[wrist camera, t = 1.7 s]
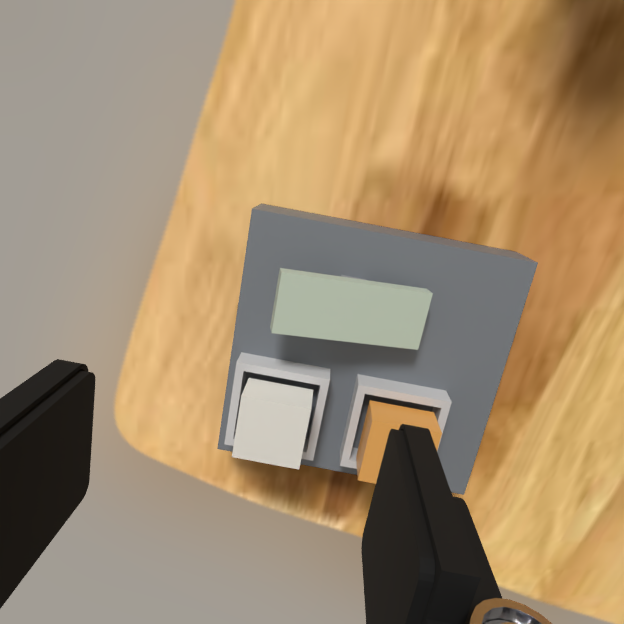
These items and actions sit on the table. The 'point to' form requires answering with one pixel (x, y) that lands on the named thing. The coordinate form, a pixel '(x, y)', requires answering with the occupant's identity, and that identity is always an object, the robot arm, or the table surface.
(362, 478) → the orange button
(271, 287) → the switch panel
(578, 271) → the table surface
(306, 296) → the block
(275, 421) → the cream button
